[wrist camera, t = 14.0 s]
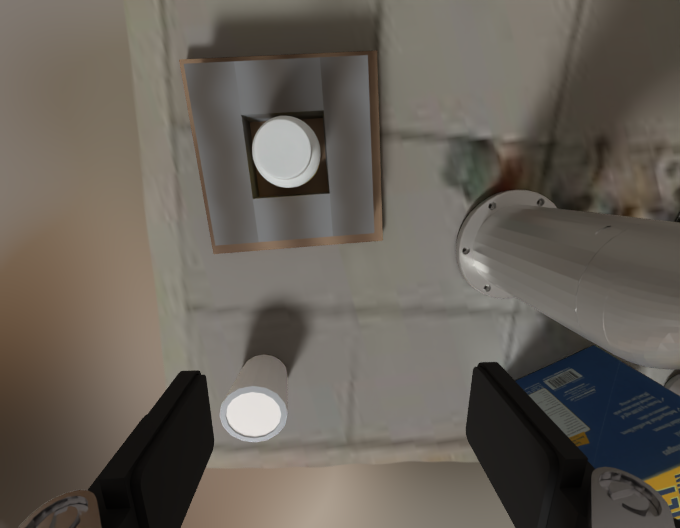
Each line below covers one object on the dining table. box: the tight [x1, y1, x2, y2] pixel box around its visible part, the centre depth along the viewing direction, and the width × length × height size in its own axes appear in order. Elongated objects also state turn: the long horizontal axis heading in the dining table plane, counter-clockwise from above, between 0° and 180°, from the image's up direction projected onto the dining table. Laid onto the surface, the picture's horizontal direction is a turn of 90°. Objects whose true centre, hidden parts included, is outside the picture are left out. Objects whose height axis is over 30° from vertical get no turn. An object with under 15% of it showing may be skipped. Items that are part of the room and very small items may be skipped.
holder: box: [179, 51, 383, 254], centre depth 30 cm, size 18×18×5 cm
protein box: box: [516, 345, 680, 520], centre depth 35 cm, size 10×15×16 cm
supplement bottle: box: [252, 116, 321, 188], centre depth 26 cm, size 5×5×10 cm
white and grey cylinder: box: [220, 354, 288, 442], centre depth 35 cm, size 7×7×7 cm
